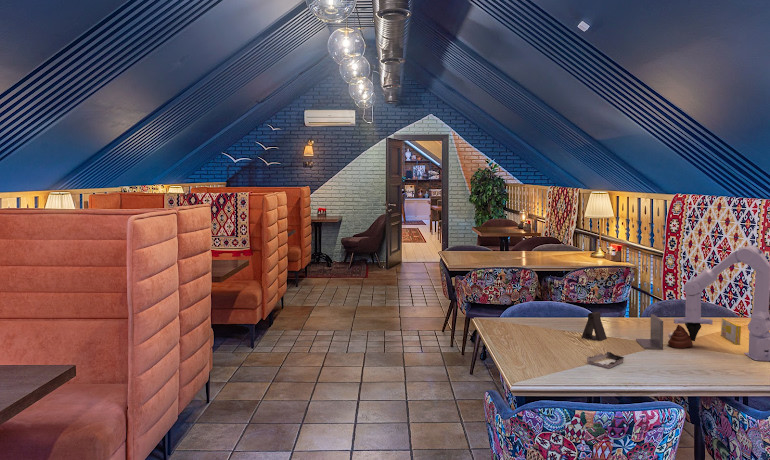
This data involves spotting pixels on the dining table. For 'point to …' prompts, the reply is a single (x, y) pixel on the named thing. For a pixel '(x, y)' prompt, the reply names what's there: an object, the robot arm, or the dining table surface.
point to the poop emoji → (679, 338)
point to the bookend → (654, 335)
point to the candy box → (731, 331)
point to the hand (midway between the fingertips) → (692, 340)
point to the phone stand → (594, 327)
